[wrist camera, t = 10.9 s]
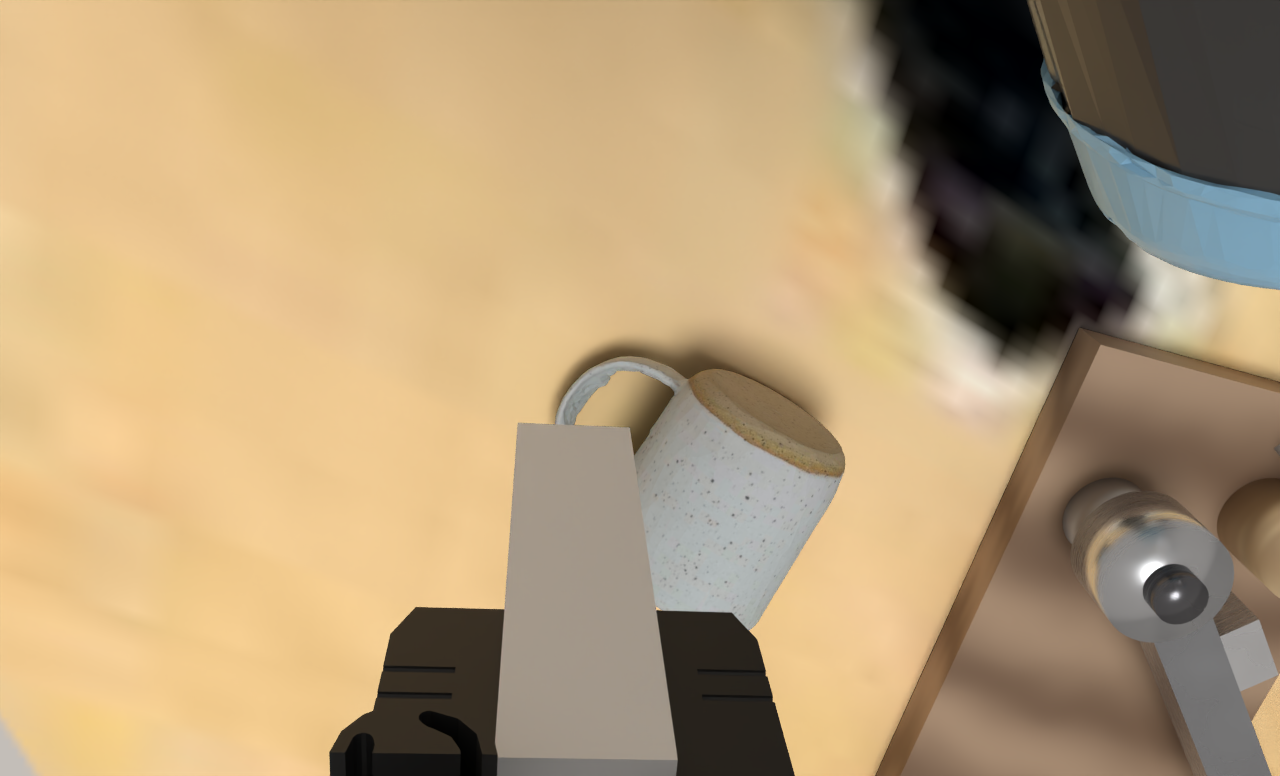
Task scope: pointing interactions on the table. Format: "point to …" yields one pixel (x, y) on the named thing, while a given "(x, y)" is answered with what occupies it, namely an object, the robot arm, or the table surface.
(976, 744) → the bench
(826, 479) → the ceramic mug
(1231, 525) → the tan wooden cylinder
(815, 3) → the table surface
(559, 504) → the robot arm
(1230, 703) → the lever
